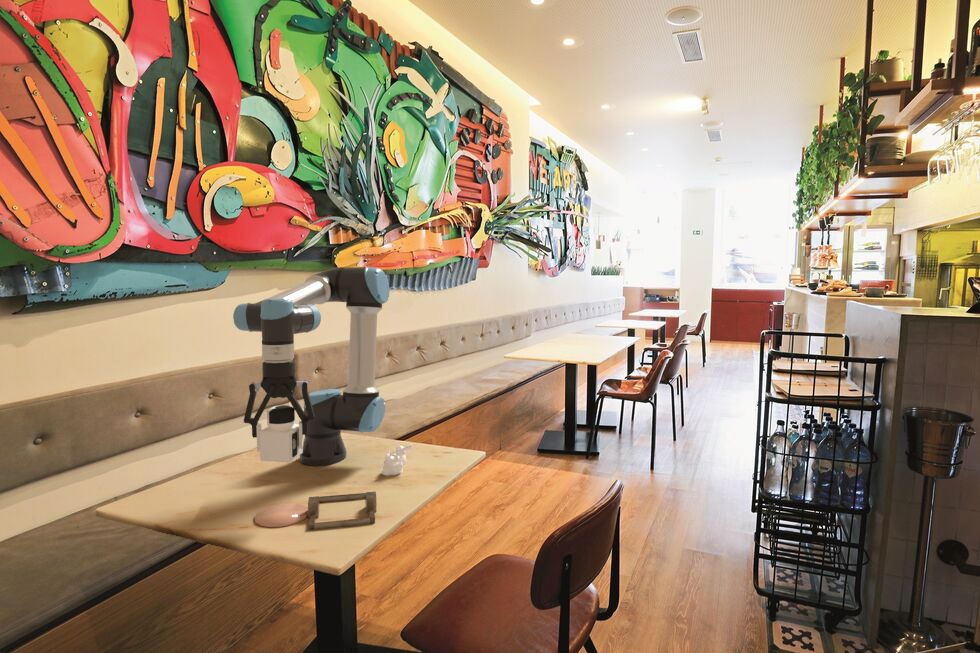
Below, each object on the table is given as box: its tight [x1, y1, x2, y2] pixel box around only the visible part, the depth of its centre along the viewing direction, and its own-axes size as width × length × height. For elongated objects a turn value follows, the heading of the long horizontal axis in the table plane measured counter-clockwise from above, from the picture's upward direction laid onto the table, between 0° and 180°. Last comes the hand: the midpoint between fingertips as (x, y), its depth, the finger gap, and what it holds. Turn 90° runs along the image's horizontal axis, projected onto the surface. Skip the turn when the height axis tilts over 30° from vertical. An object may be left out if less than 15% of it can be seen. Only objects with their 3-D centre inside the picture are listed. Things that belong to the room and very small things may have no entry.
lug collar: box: [307, 491, 377, 531], centre depth 145 cm, size 17×17×4 cm
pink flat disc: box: [254, 502, 308, 528], centre depth 142 cm, size 13×13×1 cm
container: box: [259, 404, 303, 463], centre depth 141 cm, size 8×8×13 cm
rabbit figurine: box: [381, 443, 413, 477], centre depth 174 cm, size 12×8×10 cm, turn 146°
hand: (280, 448), depth 140 cm, fingers closed on container, 9 cm apart
